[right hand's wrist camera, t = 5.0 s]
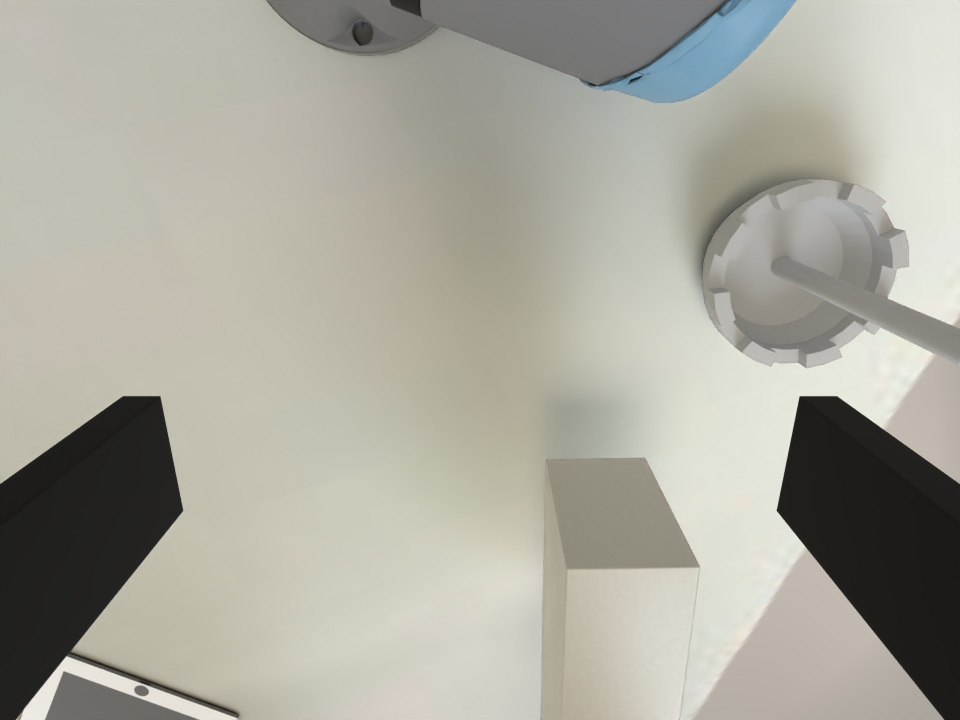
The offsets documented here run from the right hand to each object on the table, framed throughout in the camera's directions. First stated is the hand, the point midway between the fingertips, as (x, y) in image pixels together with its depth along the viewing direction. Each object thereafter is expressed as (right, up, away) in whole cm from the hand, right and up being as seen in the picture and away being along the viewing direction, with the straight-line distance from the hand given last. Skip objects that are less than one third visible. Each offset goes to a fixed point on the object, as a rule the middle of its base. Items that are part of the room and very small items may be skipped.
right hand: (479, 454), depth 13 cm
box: (+8, -17, +31) cm, 36 cm away
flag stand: (+23, +9, +33) cm, 41 cm away
